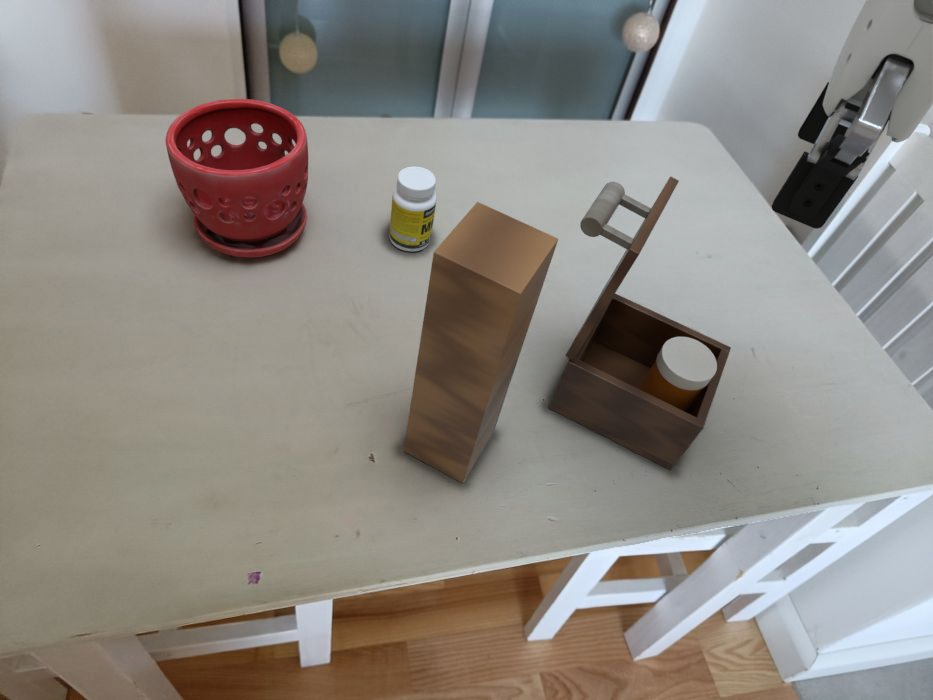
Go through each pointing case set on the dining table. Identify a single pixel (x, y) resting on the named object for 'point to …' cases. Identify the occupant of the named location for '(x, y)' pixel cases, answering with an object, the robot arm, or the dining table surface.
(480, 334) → the stand
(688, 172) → the dining table surface
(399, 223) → the supplement bottle
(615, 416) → the chest
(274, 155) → the flower pot
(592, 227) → the lid
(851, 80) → the robot arm
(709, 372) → the pill bottle
